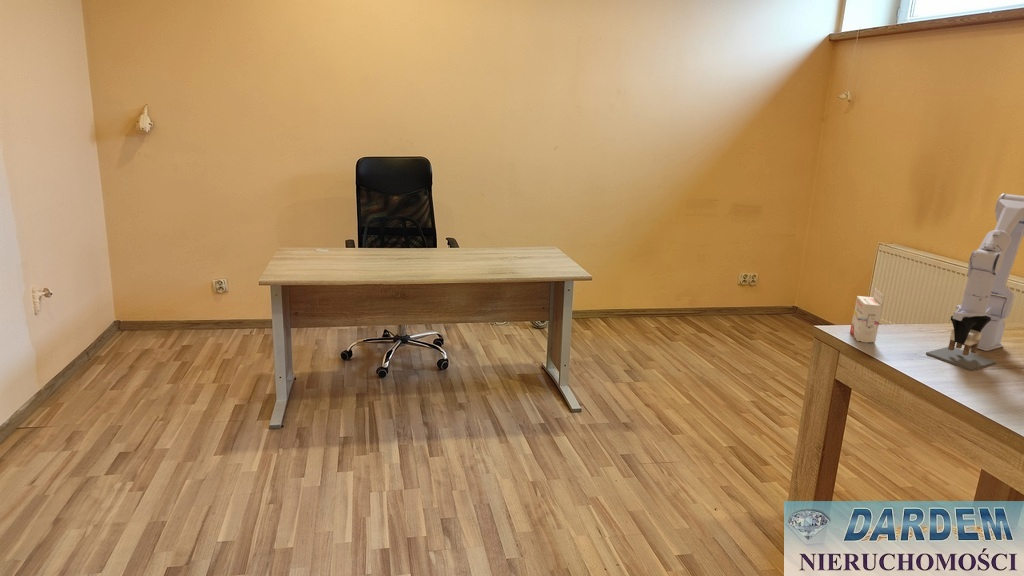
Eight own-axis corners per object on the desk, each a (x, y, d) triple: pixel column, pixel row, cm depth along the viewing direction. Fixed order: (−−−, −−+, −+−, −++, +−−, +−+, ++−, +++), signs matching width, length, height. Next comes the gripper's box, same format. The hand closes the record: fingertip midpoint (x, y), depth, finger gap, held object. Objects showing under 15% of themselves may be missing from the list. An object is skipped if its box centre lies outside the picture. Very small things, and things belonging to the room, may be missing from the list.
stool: (957, 346, 181) (962, 326, 179) (976, 353, 177) (982, 332, 175) (947, 349, 179) (952, 329, 177) (966, 355, 175) (971, 335, 173)
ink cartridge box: (848, 331, 196) (857, 285, 192) (866, 333, 195) (876, 287, 191) (857, 341, 188) (867, 293, 184) (875, 343, 187) (885, 295, 183)
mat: (950, 348, 186) (950, 346, 186) (995, 363, 176) (996, 361, 176) (925, 354, 181) (926, 352, 180) (971, 370, 171) (971, 368, 170)
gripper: (976, 287, 180) (964, 332, 183) (946, 292, 173) (934, 340, 177) (1004, 294, 174) (991, 341, 178) (974, 300, 167) (961, 349, 171)
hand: (964, 341), depth 177 cm, fingers closed on stool, 5 cm apart
